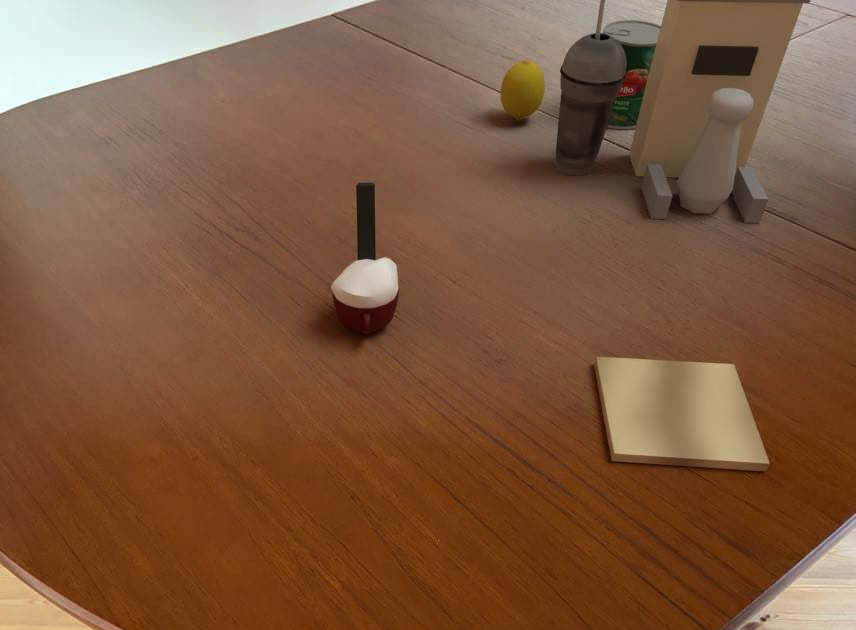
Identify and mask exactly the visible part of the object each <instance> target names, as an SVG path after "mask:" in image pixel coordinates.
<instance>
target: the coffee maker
mask: <svg viewBox="0 0 856 630" xmlns="http://www.w3.org/2000/svg"><path fill="white" fill-rule="evenodd" d="M810 3H811V0H666V4H665V9H664V13H663V17H662V20H661V25H660V26H661V28H660V32H659V36H658V40H657V44H656V48H655V52H654V56H653V60H652V64H651V68H650V72H649V76H648V80H647V84H646V88H645V92H644V96H643V100H642V104H641V108H640V112H639V116H638V120H637V124H636V128H635V129H634V133H633V137H632V141H631V145H630V148H629V153H628V156H629V159H630V161H631V165H632V168H633V171H634V174H635V176H636V177H643V178H642V181H641V186H640V188H641V191H642V194H643V198H644V202H645V204H646V207H647V210H648V214H649V216H650V219H651V220H666V219H667V215H668V212H669V209H670V206H671V202H672V199H673V193H672V190H671V188H670V185H669V181H668V180H667V178H677V179H679V177H680V175H681V173H682V171H683V169H684V167H685V165H686V163H687V161H688V159H689V157H690V155H691V153H692V151H693V149H694V147H695V145H696V143H697V141H698V139H699V137H700V135H701V133H702V131H703V129H704V127H705V125H706V123H707V121H708V119H709V117H710V115H709V114H708V112H707V105H708V102H709V100H710V98H711V96H712V94H713V92H715V91H717V90H719V89H722V88H736V89H740V90H744V91H746V92H747V93H749V94H750V96H751V97H752V99H753V100H754V102H753V108H752V110H751V112H750V114H749V116H748V117H747V119H745V120H743V121H742V123H741V131H740V138H739V146H738V154H737V161H736V169H735V177H734V184H733V190H732V191H731V193H730V195H731V196H732V198H733V200H734V203H735V204H736V207H737V210H738V211H739V214H740V216H741V218H742V220H743V222H744V224H745V223H746V224H749V223H750V224H760V223H761V221H762V218H763V216H764V213H765V210H766V207H767V205H768V202H769V197H768V195H767V193H766V191H765V189H764V187H763V184H762V183H761V181H760V179H759V178H758V175H757V174H756V172H755V170H754V168H753V167H749V166H747V162H748V160H749V157H750V155H751V152H752V148H753V145H754V143H755V140H756V137H757V135H758V132H759V129H760V126H761V123H762V120H763V117H764V114H765V112H766V109H767V106H768V103H769V101H770V97H771V94H772V93H773V89H774V86H775V83H776V81H777V78H778V75H779V73H780V69H781V66H782V64H783V61H784V58H785V55H786V54H787V53H786V52H787V49H788V47H789V45H790V41H791V39H792V35H793V33H794V30H795V27H796V25H797V22H798V19H799V16H800V13H801V10H802V7H803V5H804V4H810ZM746 166H747V167H746Z"/></svg>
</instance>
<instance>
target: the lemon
mask: <svg viewBox="0 0 856 630" xmlns="http://www.w3.org/2000/svg"><path fill="white" fill-rule="evenodd" d="M545 91H546V80H545V75H544V73H543V71H542V69H541V68H540V66H539V65H538V64H536V63H535V62H534V61H533V62H532V61H531V60H530V59H529V58H525V59H524V60H521V61H519V62H516V63H514V64H513V65H511V67H509V69H508V70H507V71H506V72H505V74H504V77H503V79H502V82H501V86H500V95H499V96H500V103H501V106H502V108H503V109H504V112H506V113H507V114H508V115H509V116H511V117H513V118H514V119H515V120H516V121H521V120H522V119H524V118H528V117H530V116H531V115H533V114H534V113H536V112H537V110H539V108H540V106H541V105H542V102H543V100H544V97H545V96H544V95H545V93H546V92H545Z"/></svg>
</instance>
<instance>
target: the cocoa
mask: <svg viewBox="0 0 856 630" xmlns="http://www.w3.org/2000/svg"><path fill="white" fill-rule="evenodd" d="M355 196H356V198H355V199H356V243H357V244H356V245H357V246H356V247H357V249H356V250H357V252H356V253H357V259H356V260H354V261H353V262H352V263H350V264H349V265H348V266H347V267H345V268H344V269H343V271H342V272H341V273H340V274H339V276H337V277H336V278H335V280H333V282H332V284H331V286H330V289H331V291H332V302H333V305H334V309H335V311H336V314H337V317H338V319H339V321H340V322H341V323H342V324H343V325H344V327H347V328H348V329H350V330H351V331H356V332H359V333H363V334H364V335H370V333H373V332H376V331H380V330H382V329H384V328H385V327H386V326H387V325H388V324H389V323H390V322H392V320H393V318H394V316H395V313H396V310H397V307H398V302H399V297H400V288H399V276H398V267H397V264H396V263H395V262H394V261H393V260H392V259H391V258H389V257H381V258H377V256H376V255H377V253H376V251H377V250H376V249H377V248H376V247H377V245H376V184H375V183H373V182H371V181H370V182H369V181H368V182H358V183H357V184H356V185H355Z"/></svg>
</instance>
